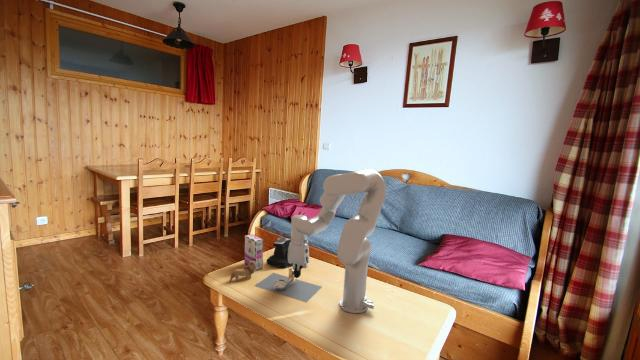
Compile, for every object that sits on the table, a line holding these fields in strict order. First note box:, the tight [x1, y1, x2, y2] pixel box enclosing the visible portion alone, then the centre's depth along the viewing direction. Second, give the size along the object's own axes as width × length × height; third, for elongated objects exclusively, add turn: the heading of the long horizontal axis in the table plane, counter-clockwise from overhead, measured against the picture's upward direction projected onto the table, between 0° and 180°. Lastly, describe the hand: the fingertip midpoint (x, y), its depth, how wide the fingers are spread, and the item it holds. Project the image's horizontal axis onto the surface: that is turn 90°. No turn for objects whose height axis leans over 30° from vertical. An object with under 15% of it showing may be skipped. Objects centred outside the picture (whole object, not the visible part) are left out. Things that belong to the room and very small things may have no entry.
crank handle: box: [273, 267, 295, 291], centre depth 149 cm, size 16×6×5 cm, turn 155°
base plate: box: [254, 272, 323, 303], centre depth 150 cm, size 28×16×1 cm, turn 64°
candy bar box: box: [244, 233, 264, 271], centre depth 171 cm, size 11×5×16 cm, turn 44°
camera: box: [266, 237, 293, 269], centre depth 177 cm, size 16×14×15 cm
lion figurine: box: [228, 261, 256, 283], centre depth 154 cm, size 15×5×9 cm, turn 132°
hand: (297, 276), depth 154 cm, fingers closed
